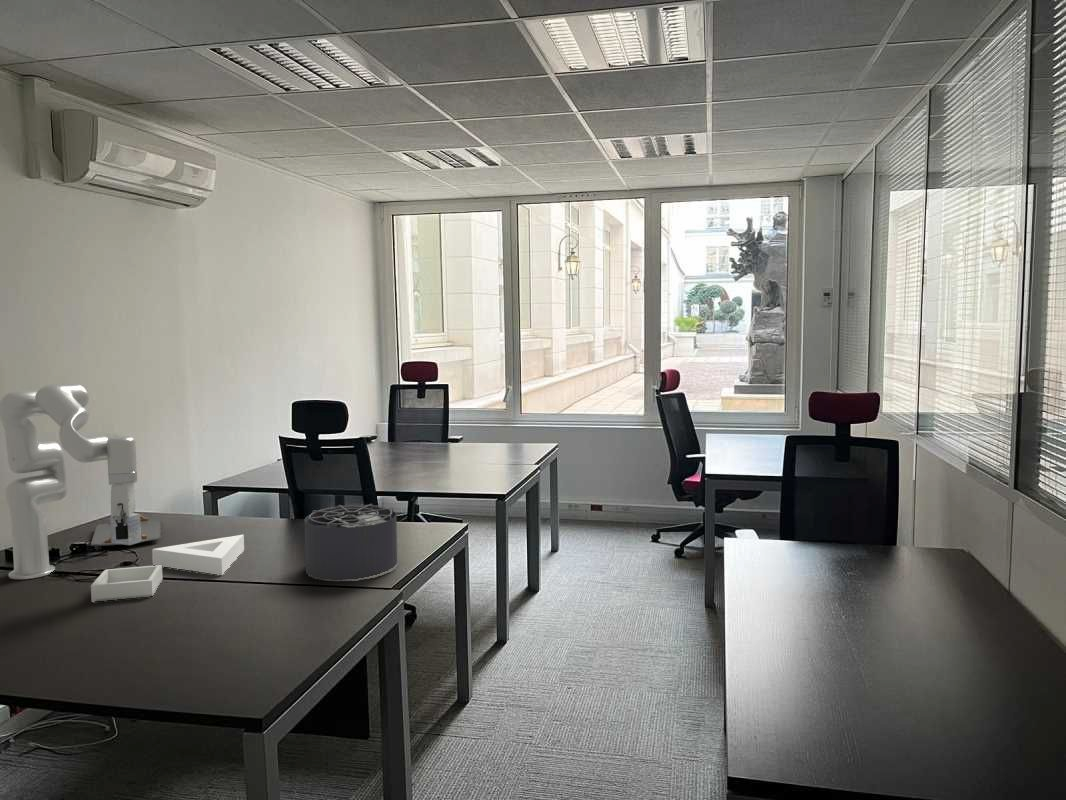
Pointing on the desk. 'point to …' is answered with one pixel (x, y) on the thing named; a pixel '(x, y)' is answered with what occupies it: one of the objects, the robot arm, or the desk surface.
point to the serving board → (148, 532)
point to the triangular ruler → (201, 555)
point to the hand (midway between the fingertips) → (125, 535)
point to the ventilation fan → (350, 542)
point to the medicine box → (133, 530)
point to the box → (126, 583)
